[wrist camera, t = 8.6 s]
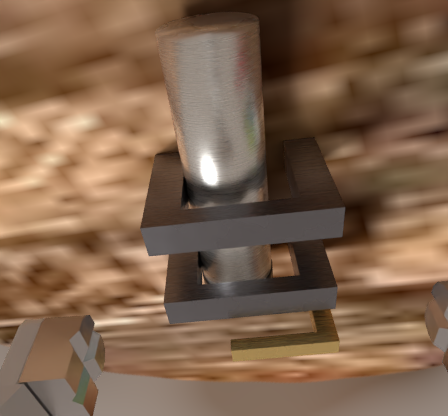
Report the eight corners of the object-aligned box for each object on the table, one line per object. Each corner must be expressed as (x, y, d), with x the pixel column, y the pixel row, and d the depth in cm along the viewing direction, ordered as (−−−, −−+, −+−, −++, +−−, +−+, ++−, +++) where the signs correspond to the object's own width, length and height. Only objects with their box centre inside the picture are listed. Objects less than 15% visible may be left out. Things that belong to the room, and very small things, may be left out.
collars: (155, 154, 26) (136, 247, 19) (314, 137, 26) (353, 225, 19) (182, 267, 33) (175, 366, 26) (310, 254, 32) (338, 352, 26)
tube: (176, 14, 22) (136, 42, 18) (269, 9, 21) (246, 39, 17) (216, 252, 33) (196, 301, 29) (278, 259, 31) (265, 312, 28)
